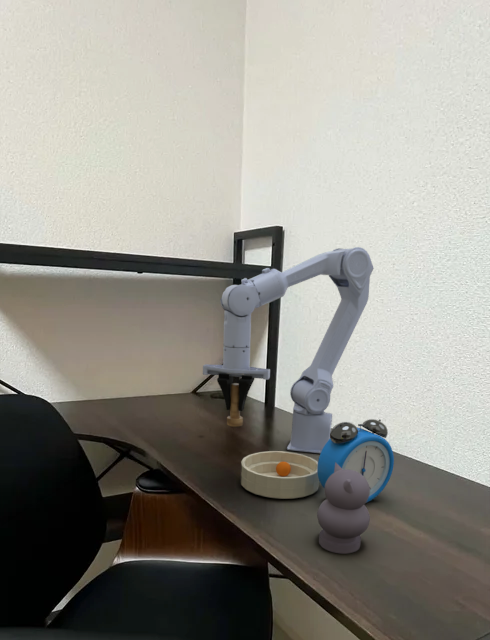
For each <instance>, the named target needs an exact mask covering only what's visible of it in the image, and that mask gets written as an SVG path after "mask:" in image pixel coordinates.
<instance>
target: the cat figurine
mask: <svg viewBox="0 0 490 640" xmlns="http://www.w3.org/2000/svg"><path fill="white" fill-rule="evenodd" d="M369 494H370V487H369V484H368V482H367V480H366V478H365V477H364V476H363V475H361V474H360V473H358V472H356V471H354V470H348V469H344V470H343V469H342V468H341V467H340V466H339V465H338V464H337V463H336V462H335V469H334V473H333V474H332V475H331V476H330V477H329V478H328V480H327V481H326V484H325V489H324V495H325V498H326V499H325V500H323V501H322V502H321V503H320V505H319V507H318V509H317V512H316V518H317V522H318V524H319V527H321V530H320V531H319V534H318V544H319V545H320V547H321V548H322V549H324V550H326V551H329V552H330V553H334V554H335V553H336V554H351V553H354V552H355V553H356V552H357V551H358V550H360V547H361V542H362V536H361V535H362V534H363V533H364V532H366V531H367V529H368V527H369V526H370V521H371V515H370V512H369V510H368V508H367V507H366V502H367V500H368V498H369ZM367 503H368V502H367Z"/></svg>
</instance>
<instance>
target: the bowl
mask: <svg viewBox="0 0 490 640" xmlns="http://www.w3.org/2000/svg"><path fill="white" fill-rule="evenodd" d="M280 462H287V463H288V464H289V465H290V467H291V471H290V473H289V474H288V475H287V476H280V475H278V474H277V472H276V466H277V465H278V463H280ZM317 466H318V460H316V459H315V458H313V457H310V456H308V455H305V454H302V453H297V452H291V451H281V450H279V451H278V450H269V451H268V450H267V451H258V452H254V453H250V454H248V455H246V456H244V457H243V458H242V460H240V485H241V486H242V487H243V488H244V489H245V490H246V491H248V492H250V493H252V494H254V495H256V496H257V495H258V496H260V497H265V498H271V499H280V500H281V499H283V500H284V499H285V500H288V499H298V498H299V499H300V498H304V497H308V496H311V495H313V494H315V493H316V492H317V491H318V490H319V487H320V481H319V478H318V473H317Z"/></svg>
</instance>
